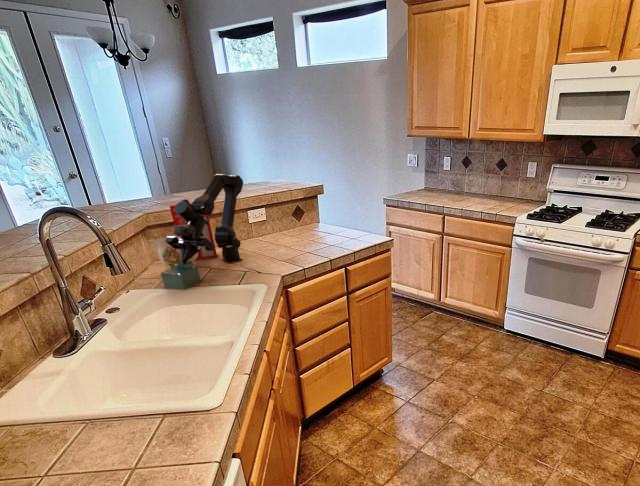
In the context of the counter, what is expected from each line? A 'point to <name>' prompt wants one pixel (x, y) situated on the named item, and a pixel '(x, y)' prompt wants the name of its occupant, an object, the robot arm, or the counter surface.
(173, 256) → the pitcher
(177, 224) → the food packaging
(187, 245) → the robot arm
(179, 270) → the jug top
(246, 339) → the counter surface
